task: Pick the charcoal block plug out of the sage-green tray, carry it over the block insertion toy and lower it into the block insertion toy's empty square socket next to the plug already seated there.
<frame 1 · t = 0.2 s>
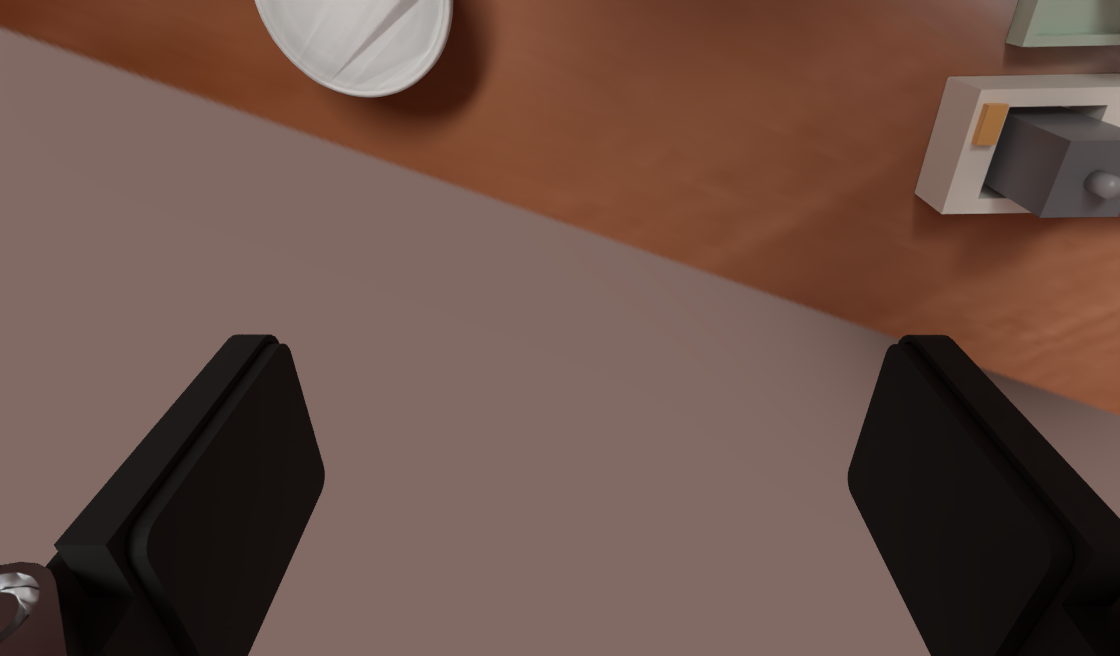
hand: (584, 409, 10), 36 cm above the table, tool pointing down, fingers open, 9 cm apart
block insertion toy: (1077, 135, 43), on the table
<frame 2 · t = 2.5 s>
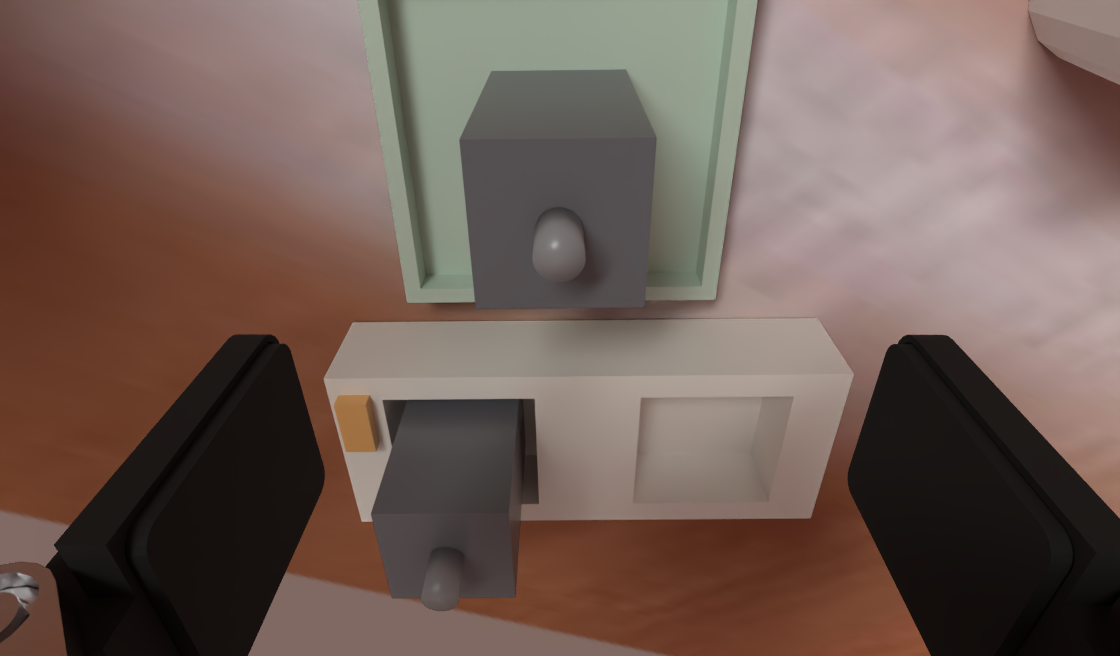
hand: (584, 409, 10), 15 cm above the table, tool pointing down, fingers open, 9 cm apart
block insertion toy: (583, 393, 29), on the table
tray: (559, 133, 23), on the table
plug: (559, 137, 22), point 1 cm above the table, touching tray
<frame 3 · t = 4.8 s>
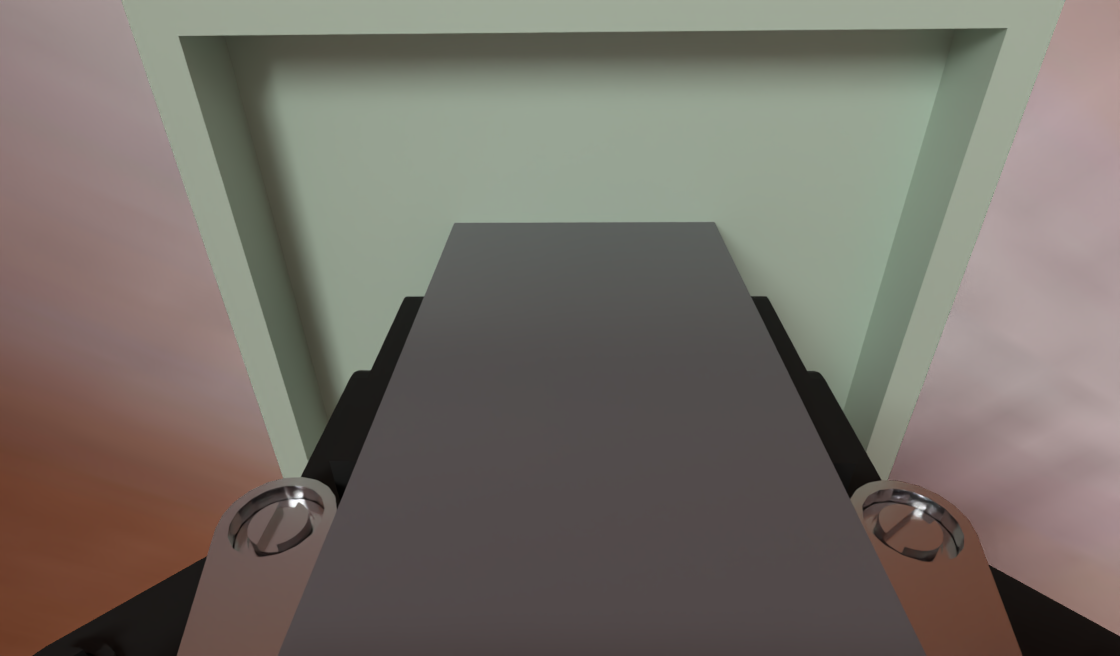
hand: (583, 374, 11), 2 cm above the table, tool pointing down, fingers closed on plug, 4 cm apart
tray: (582, 315, 13), on the table
plug: (582, 332, 12), point 1 cm above the table, touching gripper, tray
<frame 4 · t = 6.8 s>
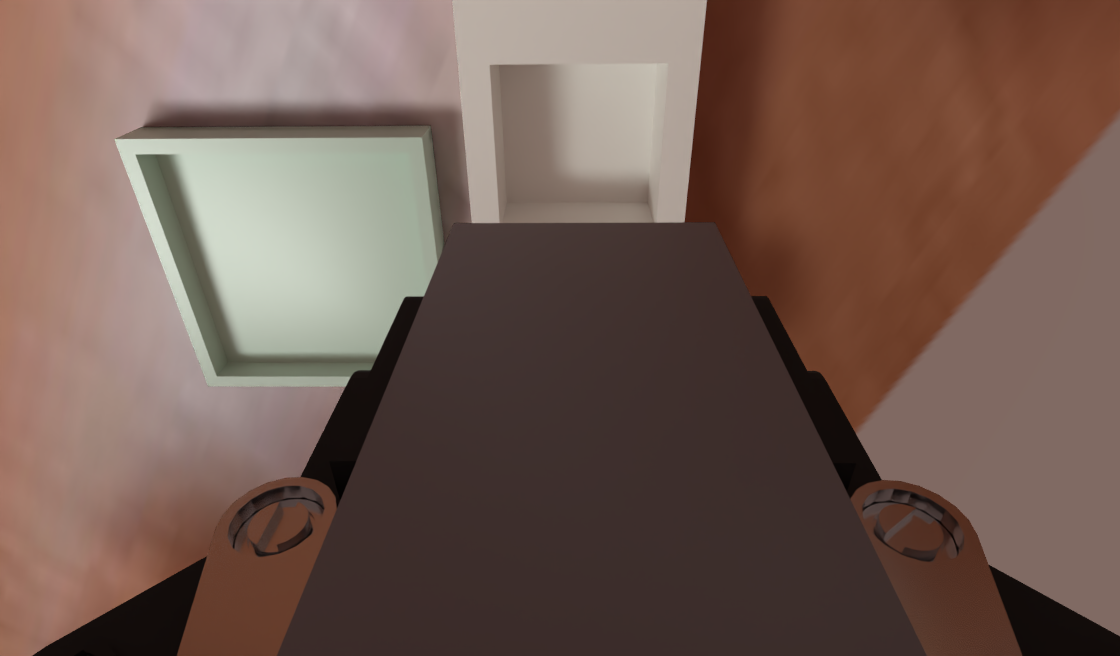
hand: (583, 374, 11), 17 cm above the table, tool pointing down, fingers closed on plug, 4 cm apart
block insertion toy: (576, 237, 28), on the table
tray: (316, 258, 29), on the table
plug: (582, 332, 12), point 16 cm above the table, touching gripper
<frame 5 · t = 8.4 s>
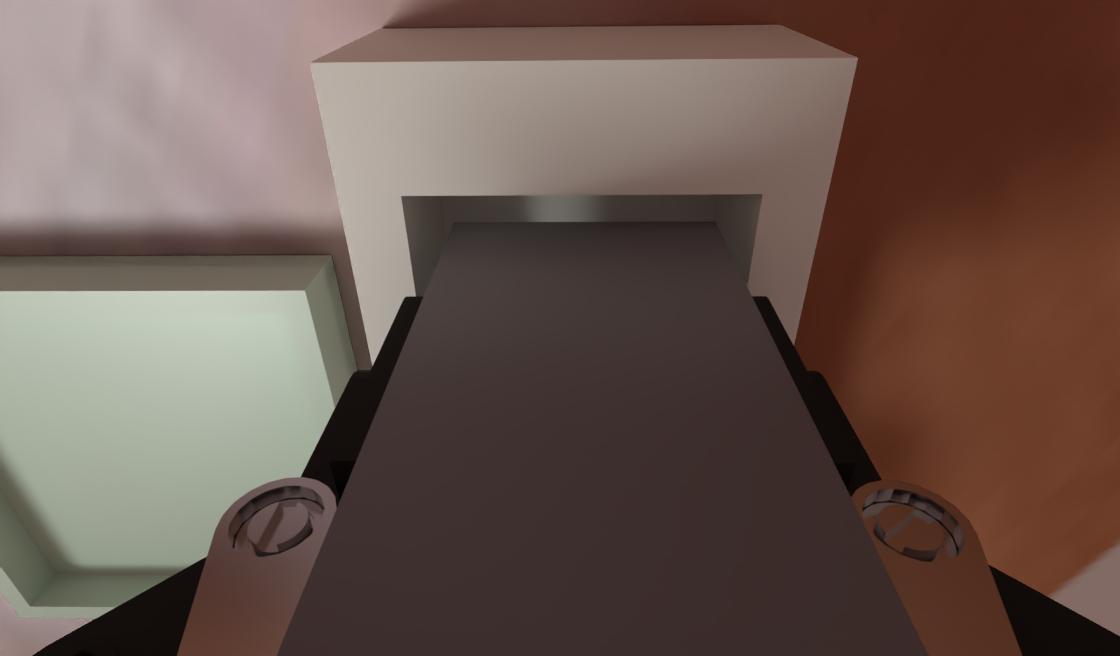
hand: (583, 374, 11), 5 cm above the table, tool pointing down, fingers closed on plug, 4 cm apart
block insertion toy: (577, 414, 18), on the table
tray: (171, 440, 19), on the table
plug: (582, 331, 12), point 4 cm above the table, touching gripper
when the fingers open (4 cm above the table, at t = 9.3 s): plug drops 2 cm, resting on block insertion toy.
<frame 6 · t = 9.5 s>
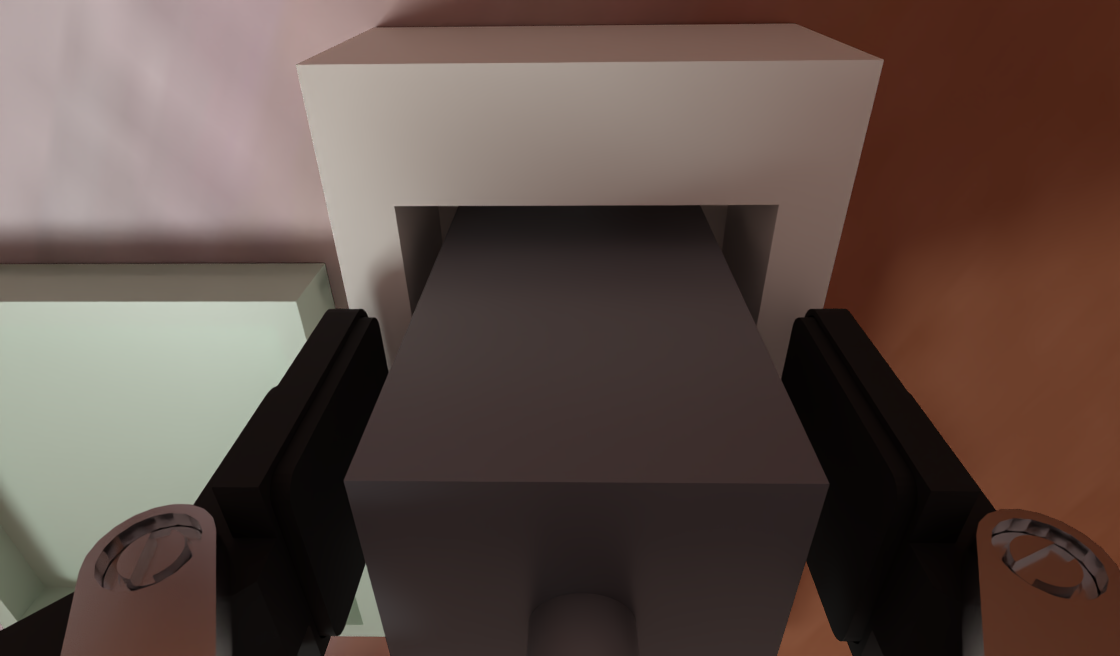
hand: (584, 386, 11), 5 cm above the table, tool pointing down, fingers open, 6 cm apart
block insertion toy: (579, 427, 17), on the table
tray: (161, 452, 18), on the table
plug: (577, 285, 14), point 1 cm above the table, touching block insertion toy
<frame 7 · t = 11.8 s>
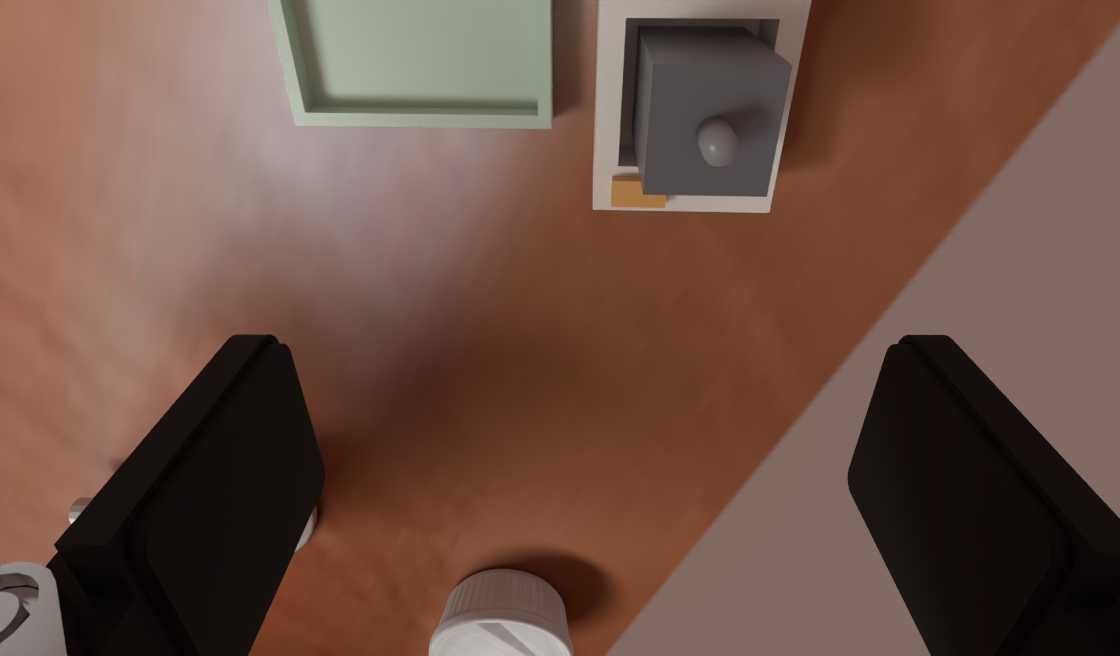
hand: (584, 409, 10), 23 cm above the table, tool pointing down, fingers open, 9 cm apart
ramekin: (508, 597, 53), on the table
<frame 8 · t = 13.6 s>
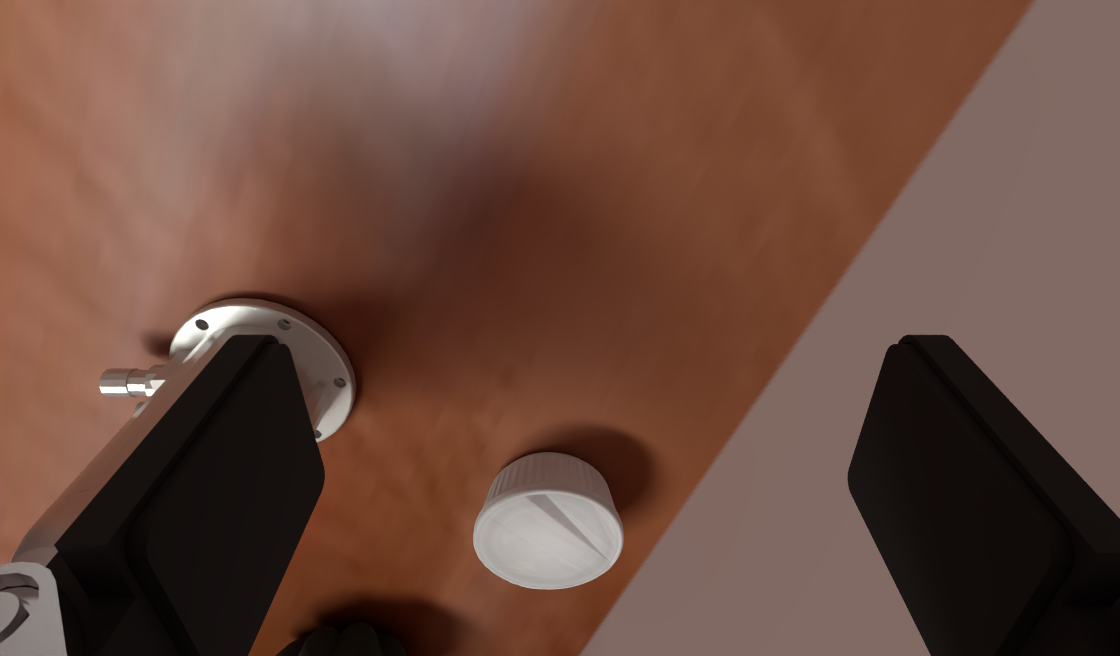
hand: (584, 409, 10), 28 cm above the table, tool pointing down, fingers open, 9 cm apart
ramekin: (550, 489, 51), on the table
squash: (356, 643, 63), on the table
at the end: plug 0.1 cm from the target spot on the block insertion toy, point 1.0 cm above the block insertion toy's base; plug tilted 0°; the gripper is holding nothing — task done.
